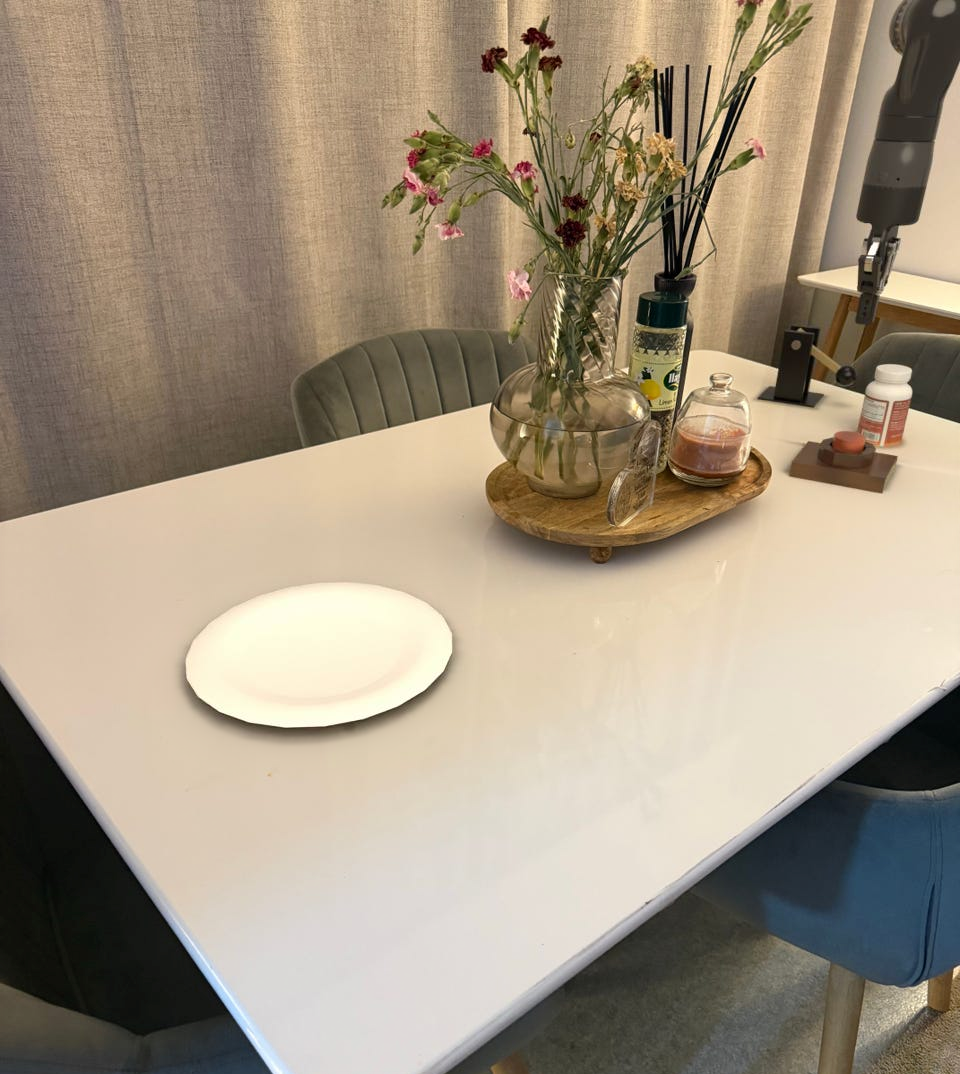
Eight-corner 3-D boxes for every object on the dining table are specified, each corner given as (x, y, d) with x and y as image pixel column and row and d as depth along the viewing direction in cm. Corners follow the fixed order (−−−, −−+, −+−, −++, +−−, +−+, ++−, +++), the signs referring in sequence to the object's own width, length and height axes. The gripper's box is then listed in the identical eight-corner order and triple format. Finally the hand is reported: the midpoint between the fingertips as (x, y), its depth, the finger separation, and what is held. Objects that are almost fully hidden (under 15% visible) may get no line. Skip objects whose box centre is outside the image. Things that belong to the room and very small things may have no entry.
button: (865, 446, 124) (868, 433, 123) (859, 456, 121) (862, 443, 120) (835, 441, 125) (837, 429, 124) (828, 450, 122) (831, 438, 121)
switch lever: (849, 387, 146) (863, 371, 144) (844, 392, 144) (859, 376, 142) (789, 341, 148) (802, 324, 145) (784, 346, 145) (797, 329, 143)
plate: (385, 768, 74) (384, 751, 73) (130, 706, 81) (125, 690, 80) (490, 617, 94) (489, 603, 93) (276, 578, 101) (274, 565, 100)
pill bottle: (895, 438, 136) (913, 363, 130) (903, 453, 131) (922, 375, 125) (851, 435, 137) (867, 361, 131) (858, 450, 132) (875, 373, 126)
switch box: (894, 471, 126) (901, 443, 123) (882, 494, 119) (889, 465, 117) (805, 455, 131) (810, 428, 129) (788, 476, 124) (794, 448, 122)
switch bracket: (822, 401, 151) (837, 327, 145) (812, 413, 146) (826, 337, 140) (768, 393, 155) (779, 321, 149) (756, 404, 150) (768, 330, 144)
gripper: (917, 188, 108) (882, 338, 118) (936, 177, 118) (902, 317, 127) (851, 184, 112) (823, 330, 121) (875, 174, 121) (847, 310, 130)
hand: (864, 323), depth 124 cm, fingers closed
